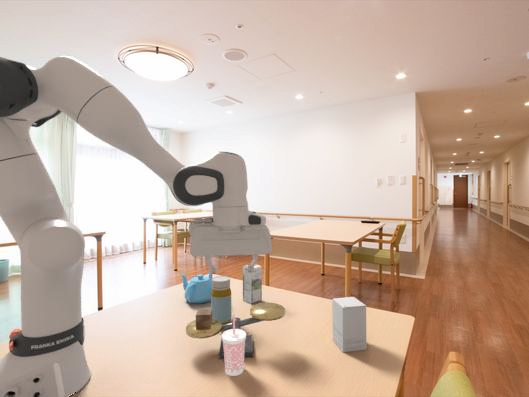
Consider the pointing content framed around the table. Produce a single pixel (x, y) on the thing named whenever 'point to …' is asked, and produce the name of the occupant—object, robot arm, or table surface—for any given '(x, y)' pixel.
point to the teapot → (198, 288)
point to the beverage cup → (234, 350)
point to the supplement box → (349, 324)
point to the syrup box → (252, 284)
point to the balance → (239, 325)
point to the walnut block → (203, 319)
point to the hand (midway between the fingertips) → (232, 272)
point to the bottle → (221, 299)
